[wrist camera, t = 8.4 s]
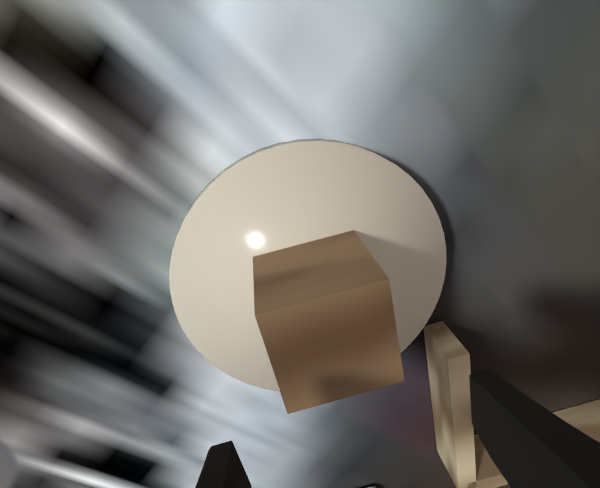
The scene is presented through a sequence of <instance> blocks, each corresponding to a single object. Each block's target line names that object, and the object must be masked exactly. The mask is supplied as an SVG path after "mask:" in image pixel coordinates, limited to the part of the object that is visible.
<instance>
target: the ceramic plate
mask: <svg viewBox="0 0 600 488" xmlns="http://www.w3.org/2000/svg"><path fill="white" fill-rule="evenodd" d="M352 230H354V232H355V233H356V234H357V236H358V237H359V238H360V240H361V241H362V243H363V244H364V245H365V247H366V248H367V249H368V251H369V252H370V253H371V255H372V256H373V258H374V259H375V260H376V262H377V263H378V264H379V266H380V267H381V268H382V270H383V271H384V273H385V274H386V275H387V277H388V278H389V281H390V288H391V294H392V301H393V308H394V314H395V321H396V328H397V335H398V341H399V348H400V353H401V352H402V351H403V350H405V349H406V348H407V347H408V346H409V345H410V344H411V342H412V341H413V340H414V339H415V338H416V337H417V336H418V334H419V333H420V332H421V330H422V329H423V328H424V326H425V325H426V323H427V322H428V320H429V318H430V316H431V315H432V313H433V311H434V309H435V307H436V304H437V302H438V299H439V297H440V294H441V290H442V287H443V283H444V279H445V271H446V244H445V237H444V232H443V229H442V225H441V222H440V219H439V216H438V214H437V212H436V210H435V208H434V206H433V204H432V202H431V201H430V199H429V198H428V196H427V195H426V193H425V192H424V190H423V189H422V188H421V187H420V186H419V185H418V184H417V183H416V181H415V180H414V179H413V178H412V177H411V176H410V175H408V174H407V173H406V172H405V171H403V170H402V169H401V168H400V167H398V166H397V165H396V164H394V163H392V162H390V161H388V160H387V159H385V158H383V157H381V156H380V155H378V154H376V153H374V152H372V151H370V150H367V149H364V148H362V147H359V146H357V145H354V144H349V143H345V142H341V141H337V140H326V139H301V140H293V141H288V142H282V143H277V144H274V145H271V146H268V147H265V148H262V149H259V150H257V151H255V152H253V153H251V154H249V155H247V156H245V157H242V158H241V159H239V160H238V161H236V162H235V163H233V164H232V165H230V166H229V167H227V168H226V169H224V170H223V171H222V172H221V173H220V174H219V175H217V176H216V177H215V178H214V179H213V180H212V181H211V182H210V183H209V184H208V185H207V186H206V187H205V188H204V190H203V191H202V192H201V193H200V194H199V195H198V197H197V198H196V200H195V202H194V203H193V205H192V206H191V208H190V209H189V211H188V213H187V215H186V217H185V219H184V221H183V224H182V226H181V228H180V230H179V233H178V235H177V237H176V241H175V244H174V248H173V251H172V255H171V263H170V272H169V274H170V292H171V297H172V303H173V307H174V310H175V312H176V315H177V318H178V321H179V323H180V325H181V327H182V329H183V330H184V332H185V334H186V336H187V337H188V339H189V340H190V341H191V343H192V344H193V345H194V347H195V348H196V349H197V350H198V351H199V352H200V353H201V354H202V355H203V356H204V357H205V358H206V359H207V360H208V361H209V362H211V363H212V364H213V365H214V366H216V367H217V368H218V369H220V370H221V371H223V372H225V373H226V374H228V375H230V376H231V377H234V378H236V379H238V380H240V381H242V382H245V383H247V384H251V385H254V386H257V387H260V388H265V389H270V390H275V391H280V389H279V386H278V383H277V380H276V377H275V374H274V371H273V368H272V365H271V362H270V359H269V356H268V354H267V351H266V348H265V345H264V342H263V339H262V336H261V333H260V330H259V327H258V324H257V321H256V318H255V311H254V282H253V257H254V256H258V255H261V254H265V253H269V252H273V251H276V250H280V249H284V248H288V247H292V246H295V245H299V244H303V243H307V242H310V241H314V240H318V239H322V238H326V237H329V236H333V235H337V234H341V233H344V232H348V231H352Z"/></svg>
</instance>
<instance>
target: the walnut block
mask: <svg viewBox="0 0 600 488" xmlns="http://www.w3.org/2000/svg"><path fill="white" fill-rule="evenodd" d="M253 282H254V311H255V318H256V321H257V324H258V327H259V330H260V333H261V336H262V339H263V342H264V345H265V348H266V351H267V354H268V356H269V359H270V362H271V365H272V368H273V371H274V374H275V377H276V380H277V383H278V386H279V389H280V392H281V395H282V398H283V401H284V404H285V407H286V410H287V413H288V414H289V413H293V412H296V411H300V410H303V409H307V408H311V407H314V406H318V405H321V404H325V403H329V402H332V401H336V400H339V399H343V398H347V397H350V396H354V395H357V394H361V393H365V392H368V391H372V390H375V389H379V388H383V387H386V386H390V385H393V384H397V383H401V382H404V375H403V368H402V361H401V355H400V348H399V341H398V335H397V328H396V321H395V314H394V308H393V301H392V294H391V288H390V281H389V278H388V277H387V275H386V274H385V273H384V271H383V270H382V268H381V267H380V266H379V264H378V263H377V262H376V260H375V259H374V258H373V256H372V255H371V253H370V252H369V251H368V249H367V248H366V247H365V245H364V244H363V243H362V241H361V240H360V238H359V237H358V236H357V234H356V233H355V232H354V230H352V231H348V232H344V233H341V234H337V235H333V236H329V237H326V238H322V239H318V240H314V241H310V242H307V243H303V244H299V245H295V246H292V247H288V248H284V249H280V250H276V251H273V252H269V253H265V254H261V255H258V256H254V257H253Z"/></svg>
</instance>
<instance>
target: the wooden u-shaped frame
mask: <svg viewBox="0 0 600 488" xmlns="http://www.w3.org/2000/svg"><path fill="white" fill-rule="evenodd" d="M424 337H425V346H426V355H427V364H428V373H429V381H430V390H431V399H432V408H433V417H434V426H435V435H436V443H437V451H438V453H439V455H440V457H441V459H442V461H443V463H444V465H445V467H446V469H447V470H448V472H449V474H450V476H451V478H452V480H453V482H454V484H455V486H456V488H496V487H499V486H503V485H506V484H508V483H507V481H506V480H505V478H504V477H503V475H502V474H501V472H500V471H499V469H498V468H497V467H496V465H495V464H494V462H493V461H492V459H491V457H490V456H489V454H488V452H487V450H486V449H485V447H484V445H483V443H482V441H481V440H480V438H479V436H478V434H475V435H474V427H473V425H472V418H471V399H470V380H469V375H471V370H470V353H469V352H468V351H467V350H466V349H465V347H464V346H463V345H462V344H461V343H460V341H459V340H458V339H457V338H456V337H455V335H454V334H453V333H452V332H451V331H450V329H449V328H448V327H447V326H446V325H445V323H444V322H443V321H440V322H437V323H433V324H429V325H426V326H424ZM553 414H555V415H557V416H558V417H560V418H561V419H563V420H564V421H566V422H567V423H569V424H570V425H572V426H574V427H575V428H577V429H578V430H580V431H582V432H583V433H585V434H586V435H588V436H590V437H591V438H593V439H595V440H596V441H598V442H600V399H599V400H595V401H592V402H588V403H585V404H581V405H578V406H574V407H570V408H567V409H563V410H560V411H556V412H553Z"/></svg>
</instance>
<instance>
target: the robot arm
mask: <svg viewBox="0 0 600 488" xmlns="http://www.w3.org/2000/svg"><path fill="white" fill-rule="evenodd" d="M469 380H470V399H471V418H472V425H473V427H474V428H475V430H476V432H477V434H478V436H479V438H480V440H481V441H482V443H483V445H484V447H485V449H486V450H487V452H488V454H489V456H490V457H491V459H492V461H493V462H494V464H495V465H496V467H497V468H498V469H499V471H500V472H501V474H502V475H503V477H504V478H505V480H506V481H507V483H508V484H509V485H510V487H511V488H600V442H598V441H596V440H595V439H593V438H591V437H590V436H588V435H586V434H585V433H583V432H582V431H580V430H578V429H577V428H575V427H574V426H572V425H570V424H569V423H567V422H566V421H564V420H563V419H561V418H560V417H558V416H557V415H555V414H553V413H552V412H550V411H549V410H547V409H546V408H544V407H543V406H541V405H540V404H538V403H537V402H535V401H534V400H533V399H531V398H530V397H528V396H527V395H525V394H524V393H522V392H521V391H519V390H518V389H517V388H515V387H514V386H512V385H511V384H509V383H508V382H507V381H505V380H504V379H502V378H501V377H500V376H498V375H497V374H495V373H494V372H492V371H491V370H485V371H482V372H478V373H474V374H471V375H469ZM195 488H251V484H250V481H249V479H248V477H247V475H246V472H245V470H244V468H243V465H242V463H241V461H240V458H239V456H238V454H237V451H236V449H235V447H234V445H233V442H232V441H229V442H225V443H222V444H218V445H214V446H211V448H210V449H209V451H208V454H207V457H206V460H205V463H204V466H203V468H202V471H201V474H200V477H199V479H198V482H197V485H196V487H195ZM367 488H376V487H374V486H371V487H367Z"/></svg>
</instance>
